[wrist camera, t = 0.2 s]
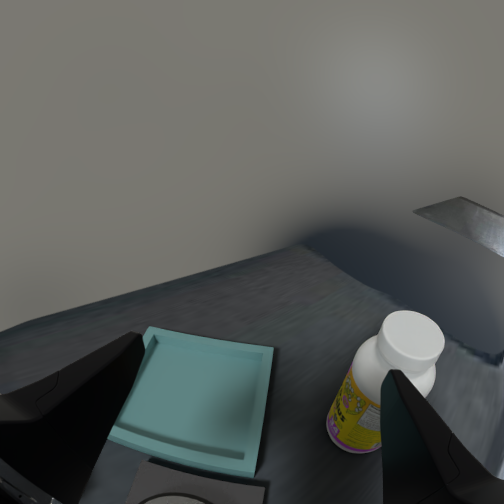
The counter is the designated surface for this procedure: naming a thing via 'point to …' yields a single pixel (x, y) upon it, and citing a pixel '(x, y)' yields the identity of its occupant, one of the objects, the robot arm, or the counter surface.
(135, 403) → the tray
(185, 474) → the block
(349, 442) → the supplement bottle
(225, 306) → the counter surface
